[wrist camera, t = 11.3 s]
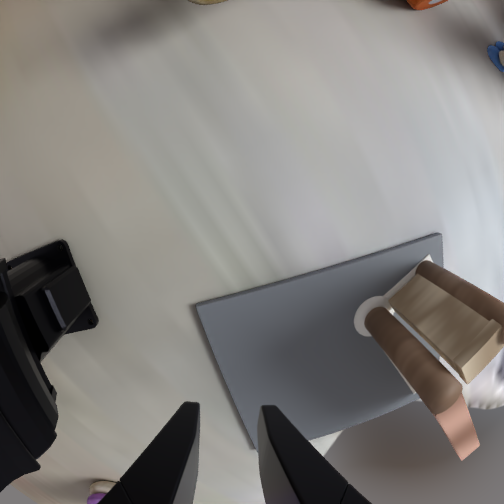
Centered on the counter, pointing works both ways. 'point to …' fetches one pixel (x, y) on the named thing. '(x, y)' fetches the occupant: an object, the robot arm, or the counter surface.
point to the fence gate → (426, 378)
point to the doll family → (497, 55)
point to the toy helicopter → (416, 1)
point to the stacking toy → (99, 491)
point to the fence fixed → (452, 318)
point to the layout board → (316, 342)
